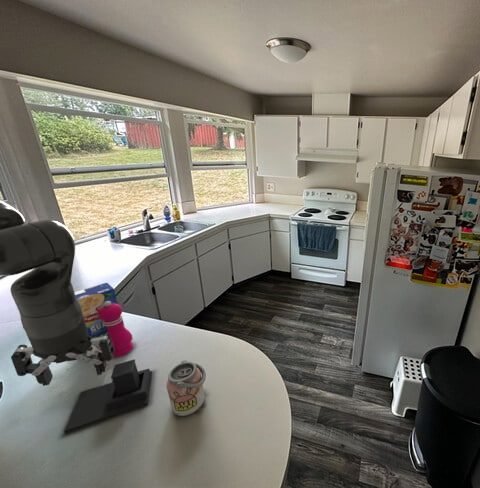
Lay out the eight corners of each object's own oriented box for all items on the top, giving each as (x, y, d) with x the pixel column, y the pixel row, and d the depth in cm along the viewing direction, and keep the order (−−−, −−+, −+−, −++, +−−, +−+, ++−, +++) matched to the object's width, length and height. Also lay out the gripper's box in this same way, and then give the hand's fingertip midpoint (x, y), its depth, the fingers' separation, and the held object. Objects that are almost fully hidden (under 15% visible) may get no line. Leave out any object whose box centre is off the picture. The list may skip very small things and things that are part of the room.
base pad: (65, 433, 62) (60, 424, 60) (81, 394, 71) (78, 385, 70) (147, 404, 69) (145, 395, 68) (152, 372, 79) (150, 364, 78)
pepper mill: (140, 345, 90) (126, 297, 83) (119, 360, 83) (103, 309, 76) (124, 341, 91) (110, 293, 85) (103, 355, 85) (86, 305, 78)
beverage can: (210, 385, 75) (205, 354, 71) (208, 411, 68) (203, 378, 64) (175, 395, 72) (167, 363, 68) (169, 423, 65) (161, 389, 61)
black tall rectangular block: (119, 401, 69) (110, 377, 66) (122, 388, 73) (114, 364, 69) (139, 394, 71) (132, 370, 68) (141, 382, 75) (134, 358, 72)
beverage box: (84, 350, 87) (63, 295, 79) (122, 333, 95) (107, 282, 88) (90, 359, 83) (69, 302, 76) (129, 340, 92) (113, 288, 84)
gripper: (109, 303, 53) (120, 355, 60) (12, 313, 47) (37, 369, 54) (98, 330, 47) (112, 383, 55) (-15, 345, 41) (18, 403, 48)
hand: (75, 376), depth 54 cm, fingers open, 8 cm apart
